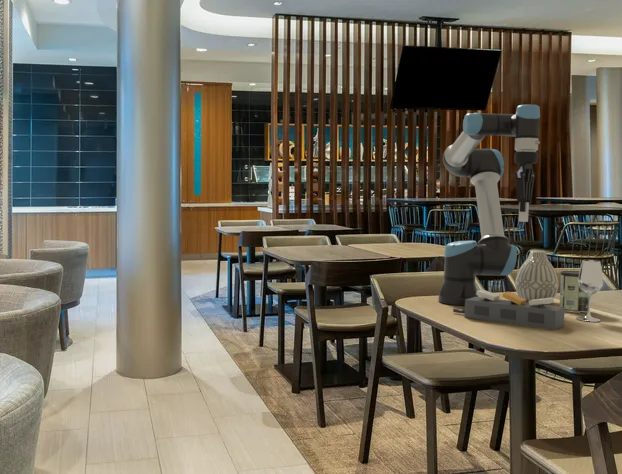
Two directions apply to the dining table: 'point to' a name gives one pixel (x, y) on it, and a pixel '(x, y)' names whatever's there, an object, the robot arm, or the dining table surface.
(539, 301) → the block
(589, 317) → the wineglass
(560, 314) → the power strip
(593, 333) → the dining table surface
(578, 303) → the coffee can
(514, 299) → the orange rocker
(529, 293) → the vase
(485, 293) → the block
